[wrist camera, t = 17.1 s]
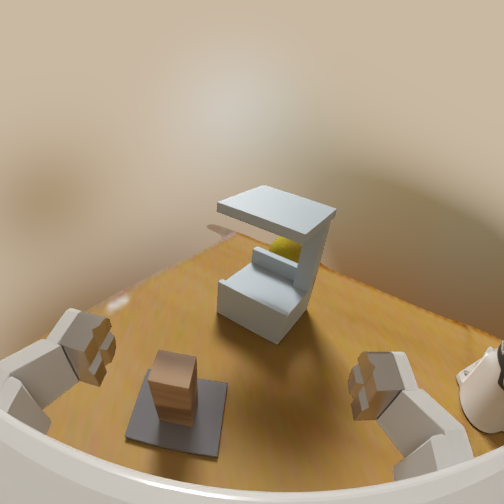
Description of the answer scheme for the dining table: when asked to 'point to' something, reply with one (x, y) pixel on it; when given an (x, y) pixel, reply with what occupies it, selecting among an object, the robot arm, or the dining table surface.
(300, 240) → the grey cantilever stand
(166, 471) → the dining table surface
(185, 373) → the walnut block
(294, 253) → the lemon
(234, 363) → the dining table surface
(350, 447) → the dining table surface
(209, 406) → the felt mat
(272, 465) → the dining table surface
